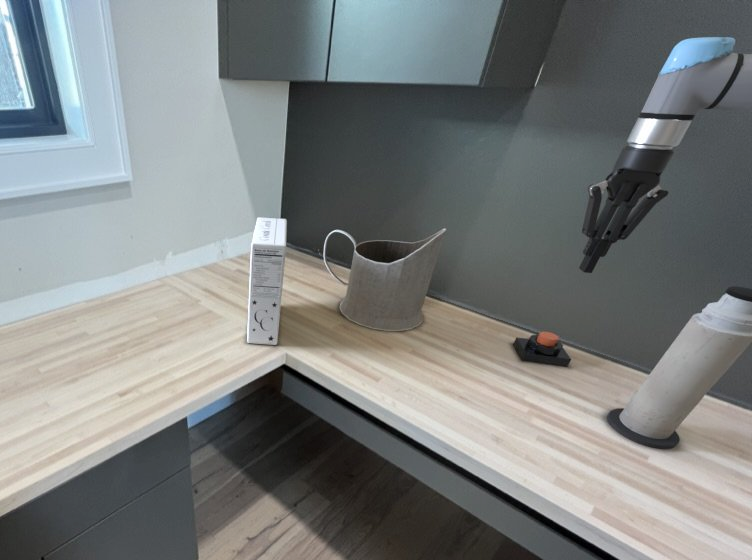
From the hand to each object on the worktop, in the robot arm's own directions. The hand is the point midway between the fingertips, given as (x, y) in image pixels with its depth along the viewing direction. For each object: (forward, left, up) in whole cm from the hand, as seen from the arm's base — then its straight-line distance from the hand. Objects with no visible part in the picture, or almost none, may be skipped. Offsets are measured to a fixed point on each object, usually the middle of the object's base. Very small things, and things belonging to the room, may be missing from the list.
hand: (585, 270), depth 91 cm
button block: (0, 0, -22) cm, 22 cm away
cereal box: (+69, +4, -22) cm, 73 cm away
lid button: (0, 0, -18) cm, 18 cm away
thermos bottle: (-11, +25, -21) cm, 34 cm away
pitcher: (+42, -15, -22) cm, 50 cm away
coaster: (-11, +25, -22) cm, 35 cm away
